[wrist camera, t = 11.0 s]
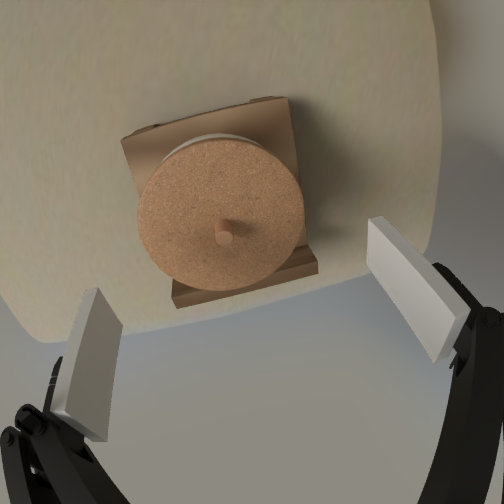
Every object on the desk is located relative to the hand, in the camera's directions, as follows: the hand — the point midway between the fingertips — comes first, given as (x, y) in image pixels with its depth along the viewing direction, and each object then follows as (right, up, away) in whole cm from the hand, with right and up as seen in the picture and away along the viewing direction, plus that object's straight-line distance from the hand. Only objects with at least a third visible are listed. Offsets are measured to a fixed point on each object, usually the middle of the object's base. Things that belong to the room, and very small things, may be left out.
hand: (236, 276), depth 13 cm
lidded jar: (-2, +7, +11) cm, 14 cm away
